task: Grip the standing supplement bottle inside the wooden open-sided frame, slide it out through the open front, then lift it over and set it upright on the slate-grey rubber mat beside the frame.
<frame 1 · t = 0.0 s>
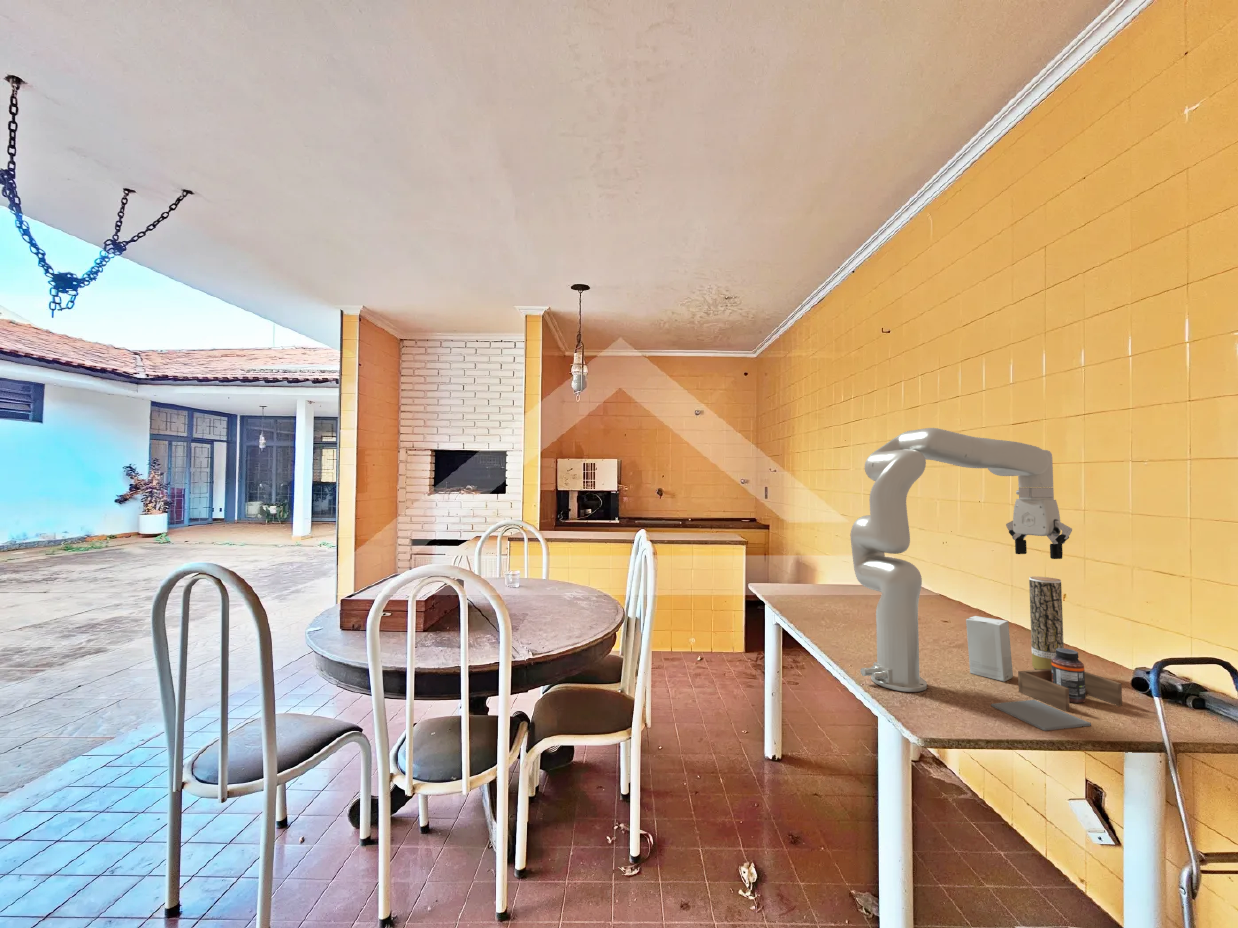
hand: (1038, 556, 140), 31 cm above the table, tool pointing down, fingers open, 9 cm apart
wooden open-sided frame: (1068, 698, 120), on the table
skincare box: (990, 676, 135), on the table
paper tube: (1048, 671, 139), on the table
supplement bottle: (1068, 699, 120), on the table
grey mat: (1038, 715, 111), on the table
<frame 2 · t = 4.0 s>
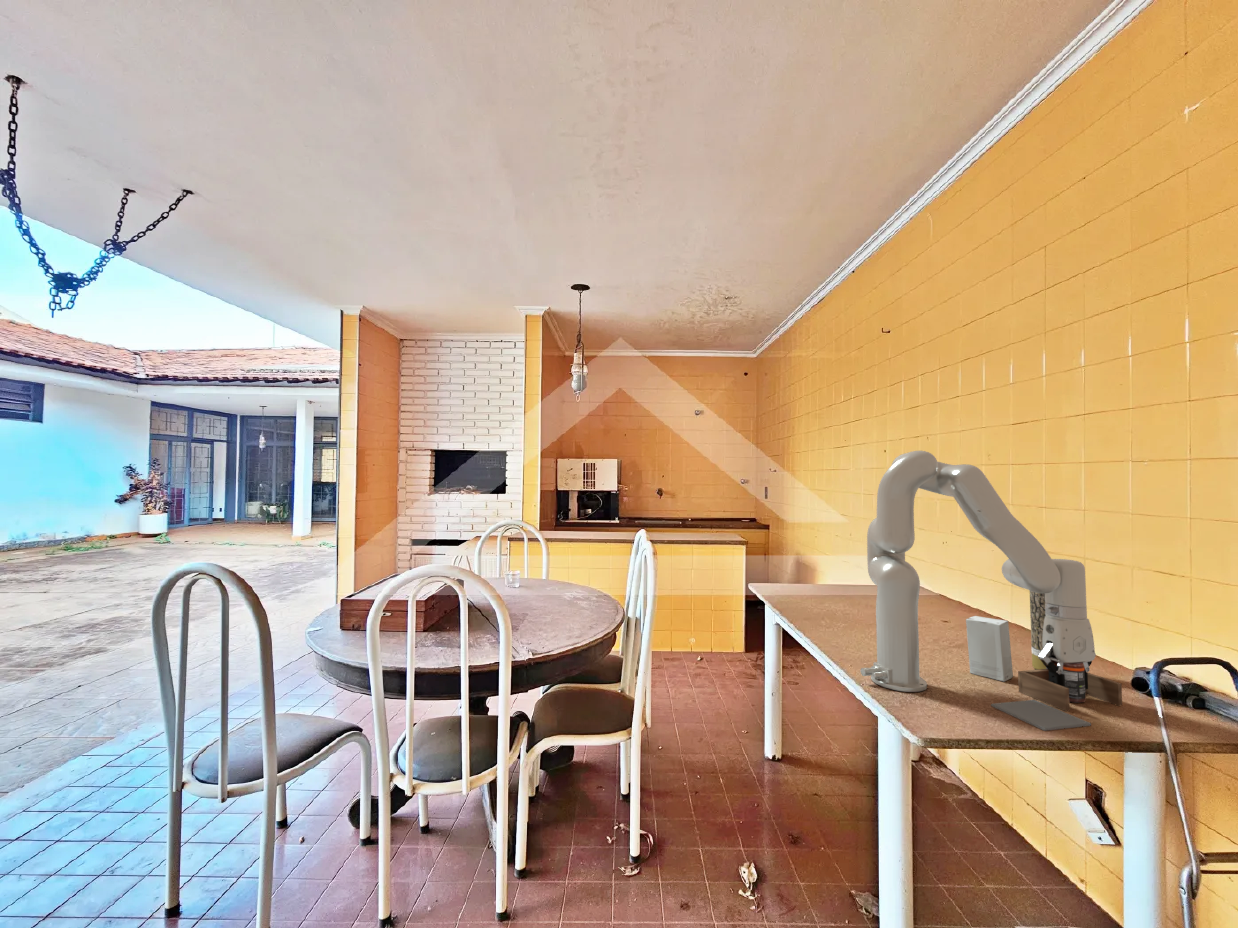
hand: (1068, 687, 120), 3 cm above the table, tool pointing down, fingers closed on supplement bottle, 6 cm apart
supplement bottle: (1068, 699, 120), on the table, touching gripper
everything else where it was.
when the fingers open (4 cm above the table, at t = 12.7 s): supplement bottle drops 1 cm, resting on grey mat.
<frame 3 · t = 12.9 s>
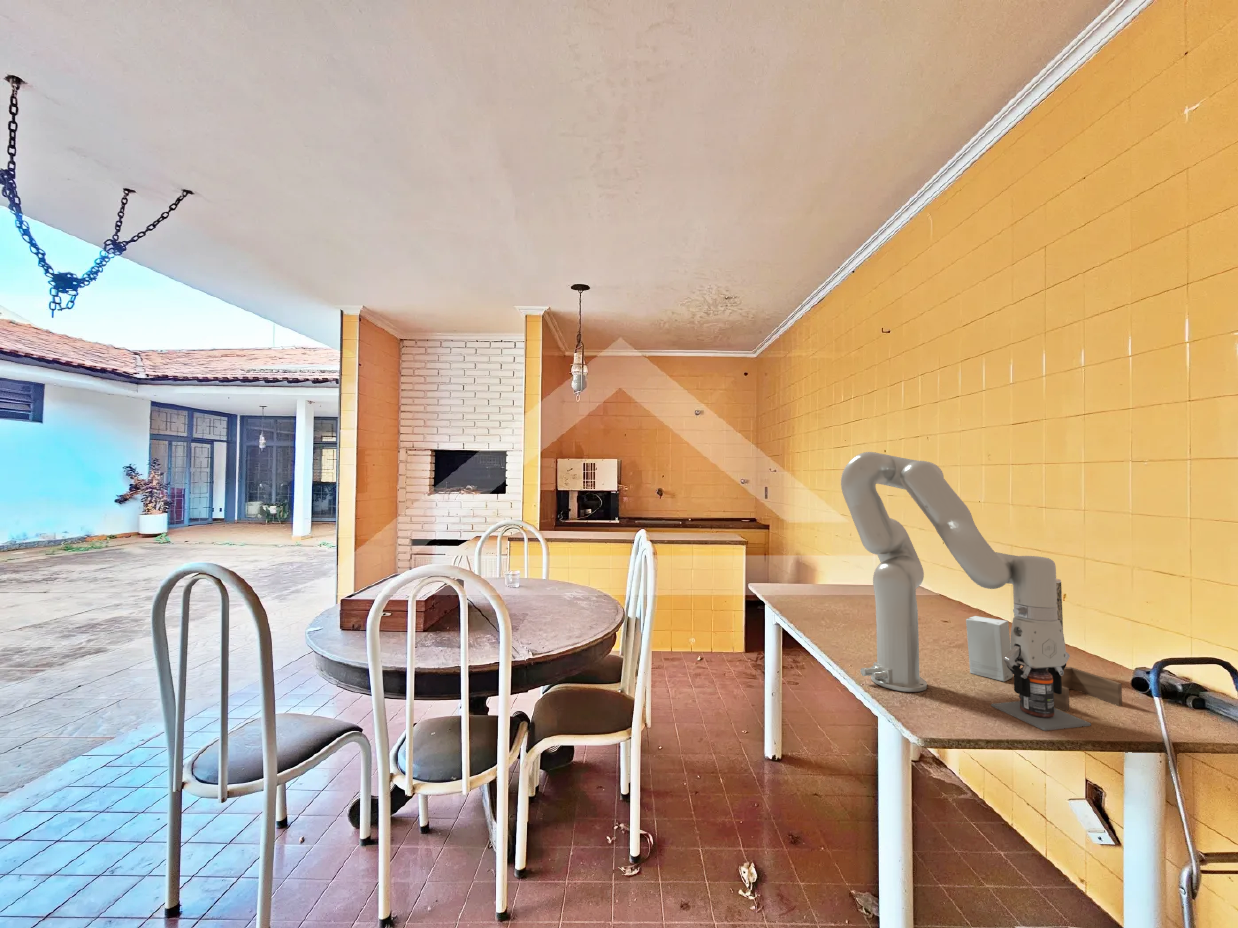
hand: (1037, 692, 112), 5 cm above the table, tool pointing down, fingers open, 7 cm apart
supplement bottle: (1036, 713, 111), resting on grey mat
everything else where it was.
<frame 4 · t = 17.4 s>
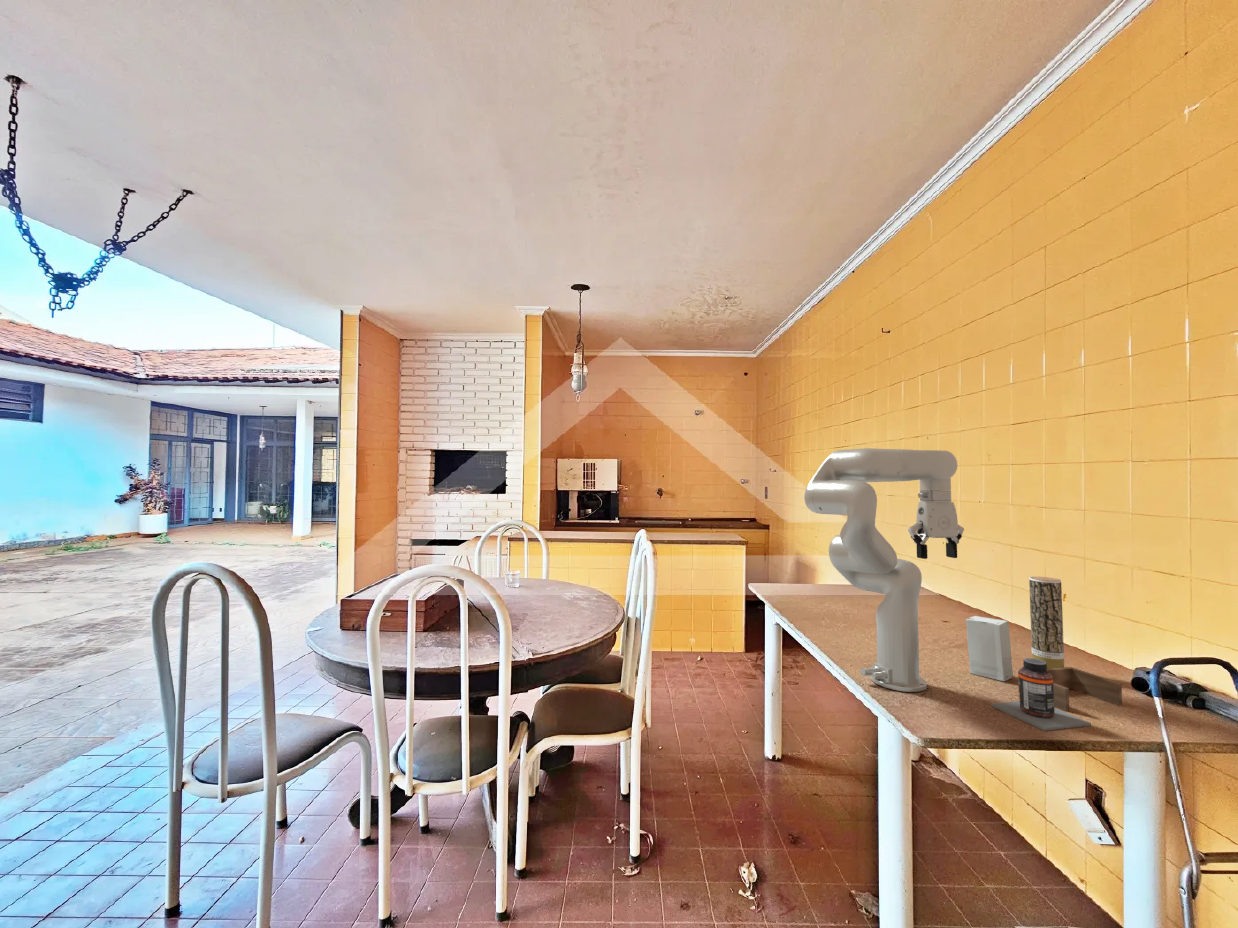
hand: (937, 557, 143), 30 cm above the table, tool pointing down, fingers open, 9 cm apart
nothing on the table moved.
at the end: supplement bottle inside the target area on the grey mat (0.4 cm from its centre), point 0.3 cm above the grey mat's base; supplement bottle tilted 0°; the gripper is holding nothing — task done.
